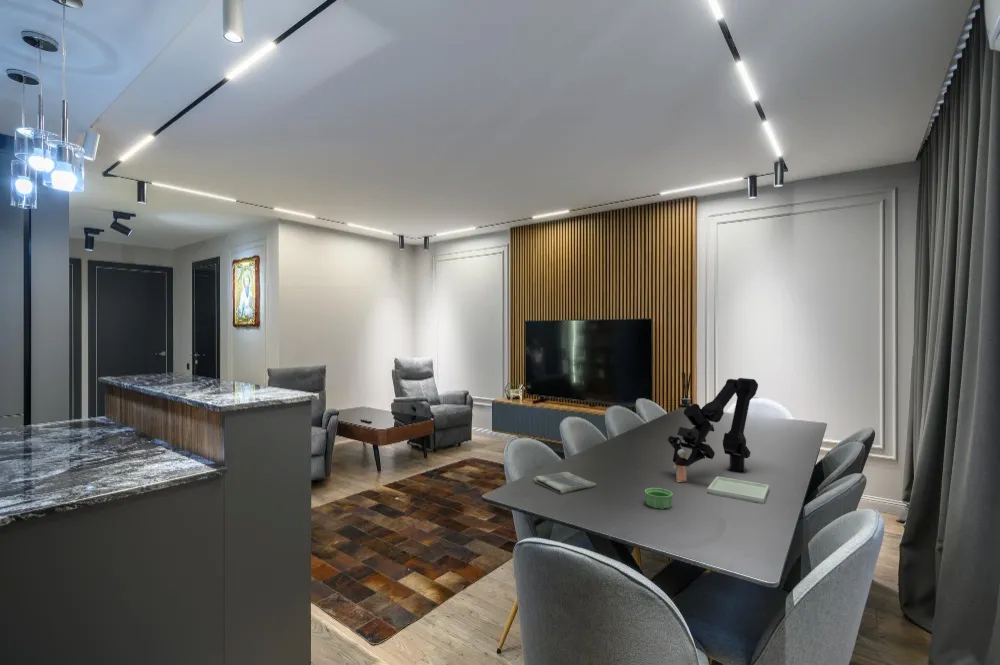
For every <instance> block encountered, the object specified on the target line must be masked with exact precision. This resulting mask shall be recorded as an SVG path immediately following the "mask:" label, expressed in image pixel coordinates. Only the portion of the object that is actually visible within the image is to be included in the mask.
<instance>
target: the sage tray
mask: <svg viewBox="0 0 1000 665" xmlns="http://www.w3.org/2000/svg"><path fill="white" fill-rule="evenodd" d="M768 491H769V492H770V484H764V483H759V482H754V481H748V480H741V479H736V478H729V477H725V476H716V477H715V478H714V479H713V481H712V482H711V483H710V484H709V486H708V487H707V488H706V493H707V494H709V495H713V494H714V495H715V496H718V495H719V496H720V497H724V498H730V499H736V500H741V501H745V502H750V501H751V502H750V503H755V502H758V503H757V504H761V503H763V504H762V505H764V504H765V502H764V501H766V499H767V497H766V496H768V494H769V492H768ZM719 496H718V497H719Z"/></svg>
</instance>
